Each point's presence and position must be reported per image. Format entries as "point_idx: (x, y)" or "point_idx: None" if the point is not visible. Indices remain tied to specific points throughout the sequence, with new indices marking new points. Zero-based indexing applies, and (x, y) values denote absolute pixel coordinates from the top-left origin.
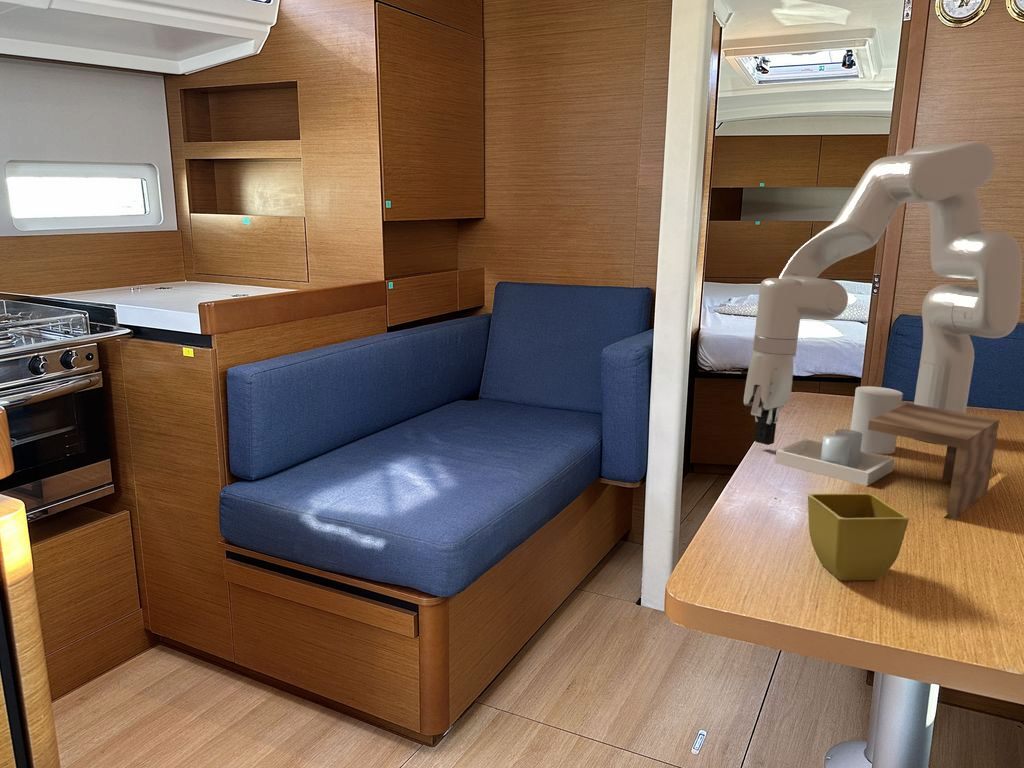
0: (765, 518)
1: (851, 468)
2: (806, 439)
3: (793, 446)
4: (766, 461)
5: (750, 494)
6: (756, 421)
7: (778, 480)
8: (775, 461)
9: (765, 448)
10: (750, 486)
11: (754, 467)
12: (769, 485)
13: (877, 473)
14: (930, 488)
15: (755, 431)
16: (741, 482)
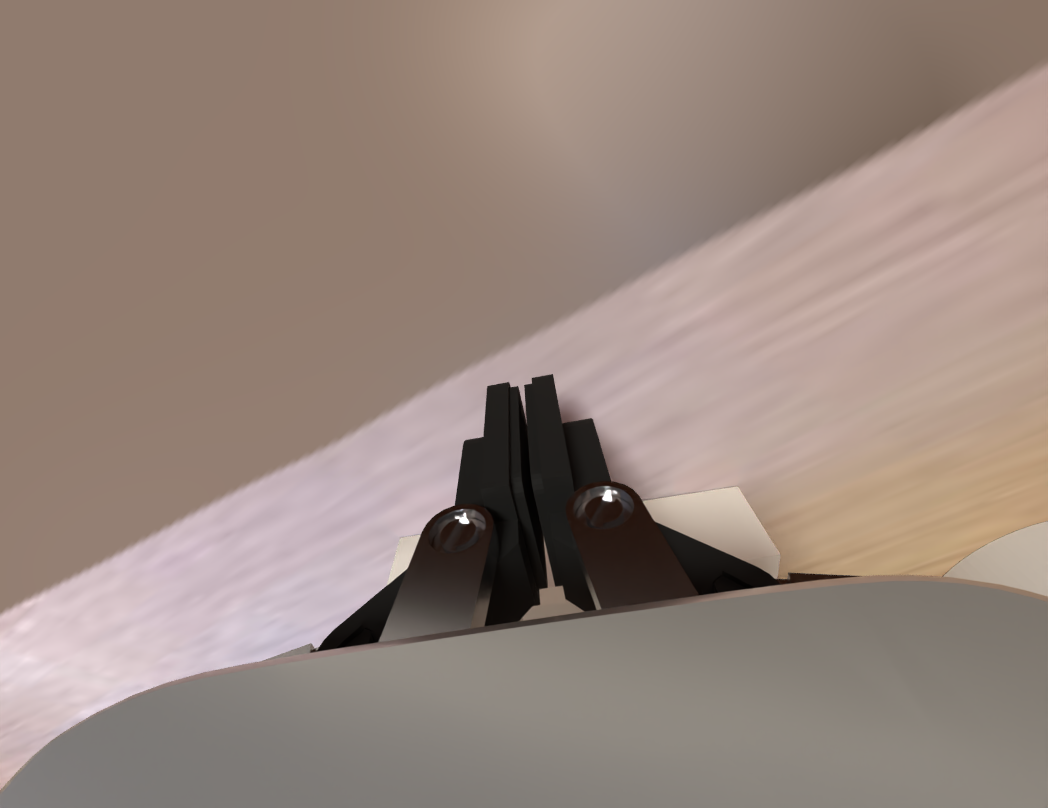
0: (11, 750)
1: None
2: (765, 564)
3: (549, 604)
4: (434, 474)
5: (63, 657)
6: (443, 518)
7: (281, 625)
8: (394, 562)
9: (660, 318)
10: (111, 620)
11: (295, 502)
12: (203, 638)
13: None
14: None
15: (486, 426)
16: (95, 585)
